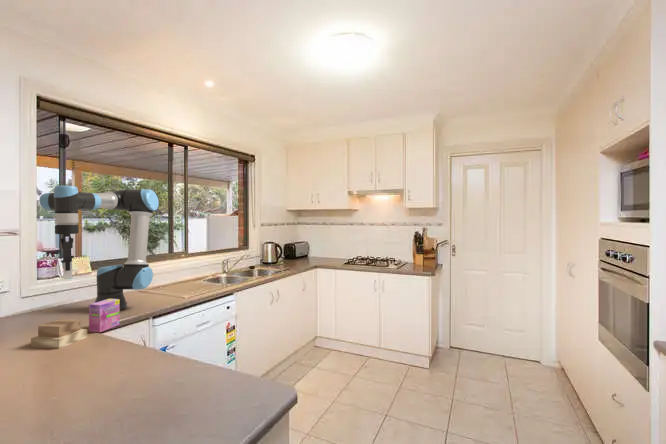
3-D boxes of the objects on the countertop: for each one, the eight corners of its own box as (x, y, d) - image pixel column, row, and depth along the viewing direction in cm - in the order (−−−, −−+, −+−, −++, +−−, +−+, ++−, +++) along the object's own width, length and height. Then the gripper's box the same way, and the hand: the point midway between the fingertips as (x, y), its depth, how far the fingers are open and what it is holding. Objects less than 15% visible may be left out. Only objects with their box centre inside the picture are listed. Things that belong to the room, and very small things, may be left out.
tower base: (61, 337, 137) (61, 327, 137) (87, 338, 136) (87, 328, 136) (31, 348, 125) (30, 337, 125) (59, 350, 124) (59, 339, 124)
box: (99, 332, 141) (99, 304, 141) (88, 331, 142) (88, 304, 142) (120, 325, 151) (120, 298, 151) (109, 324, 152) (109, 298, 152)
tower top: (60, 328, 136) (60, 319, 136) (80, 329, 134) (80, 319, 134) (38, 336, 127) (38, 325, 127) (59, 337, 125) (59, 326, 125)
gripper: (55, 223, 143) (56, 273, 143) (53, 224, 123) (55, 282, 124) (77, 223, 147) (78, 271, 148) (79, 224, 128) (80, 279, 128)
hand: (68, 276), depth 136 cm, fingers open, 13 cm apart
